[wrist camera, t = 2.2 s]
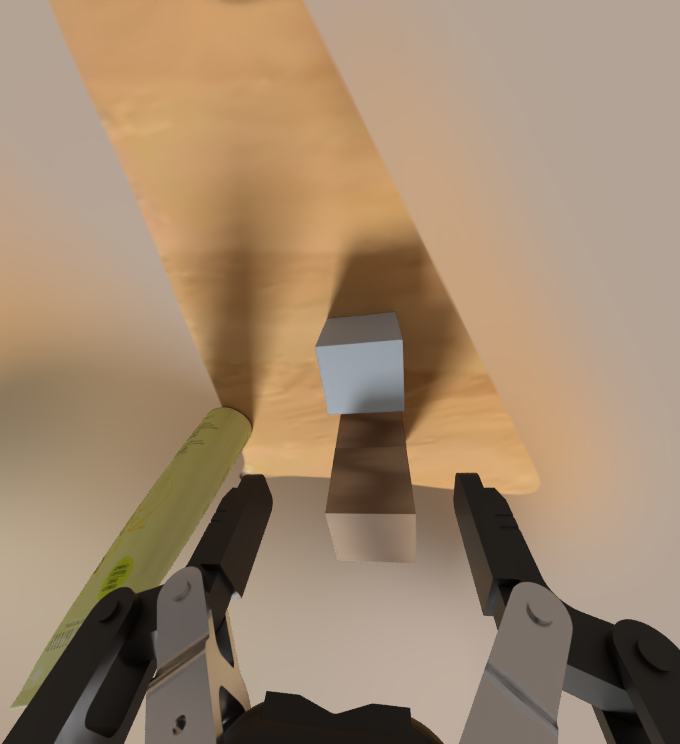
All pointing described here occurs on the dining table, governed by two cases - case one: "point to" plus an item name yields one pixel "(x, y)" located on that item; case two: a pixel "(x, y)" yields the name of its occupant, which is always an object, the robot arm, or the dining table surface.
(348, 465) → the tower upper
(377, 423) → the tower lower
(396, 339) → the slate block
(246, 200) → the dining table surface
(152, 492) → the tube
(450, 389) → the dining table surface
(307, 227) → the dining table surface
